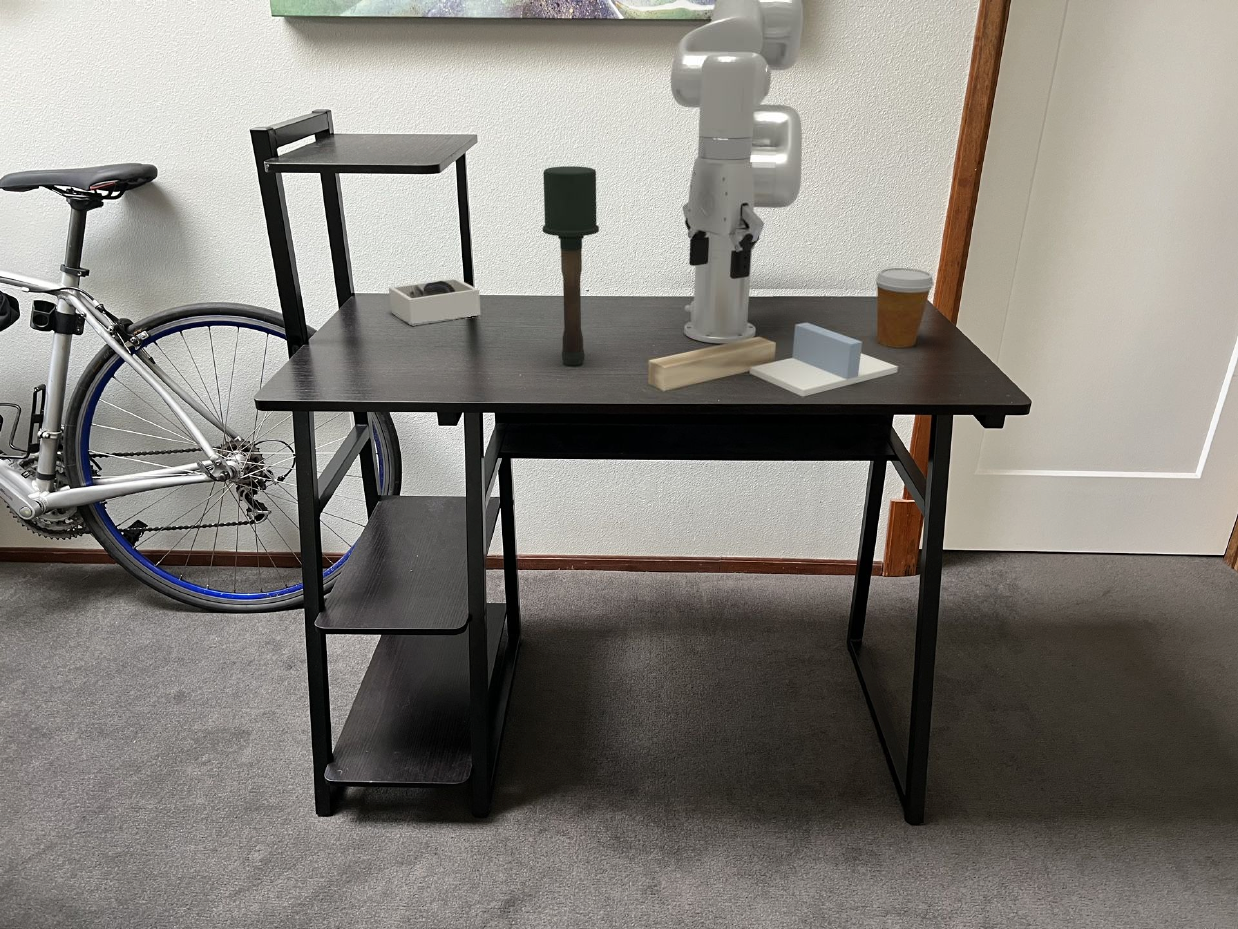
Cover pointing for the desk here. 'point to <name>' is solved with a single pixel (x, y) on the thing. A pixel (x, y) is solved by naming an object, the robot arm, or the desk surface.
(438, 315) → the beige open storage bin
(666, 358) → the rod
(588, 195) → the potato masher grenade
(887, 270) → the disposable coffee cup
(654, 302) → the desk surface
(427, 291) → the eagle figurine
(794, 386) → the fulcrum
